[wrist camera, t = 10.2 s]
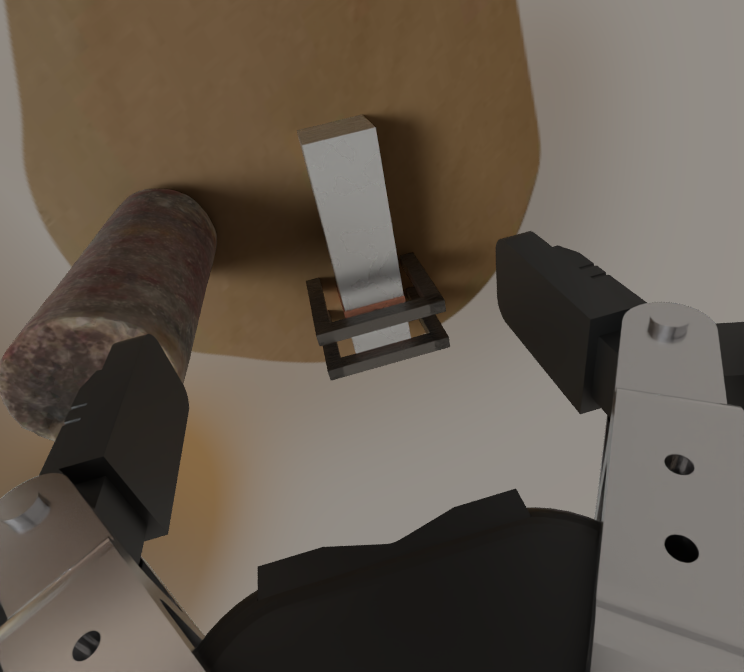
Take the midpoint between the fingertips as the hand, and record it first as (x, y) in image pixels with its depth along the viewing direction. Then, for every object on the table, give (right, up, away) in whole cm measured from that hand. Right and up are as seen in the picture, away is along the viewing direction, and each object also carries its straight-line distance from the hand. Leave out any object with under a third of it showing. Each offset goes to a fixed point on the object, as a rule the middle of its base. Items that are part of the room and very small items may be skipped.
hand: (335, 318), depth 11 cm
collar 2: (0, +3, +33) cm, 33 cm away
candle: (-15, +8, +26) cm, 31 cm away
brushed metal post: (-1, +8, +29) cm, 30 cm away
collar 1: (0, +5, +31) cm, 32 cm away
